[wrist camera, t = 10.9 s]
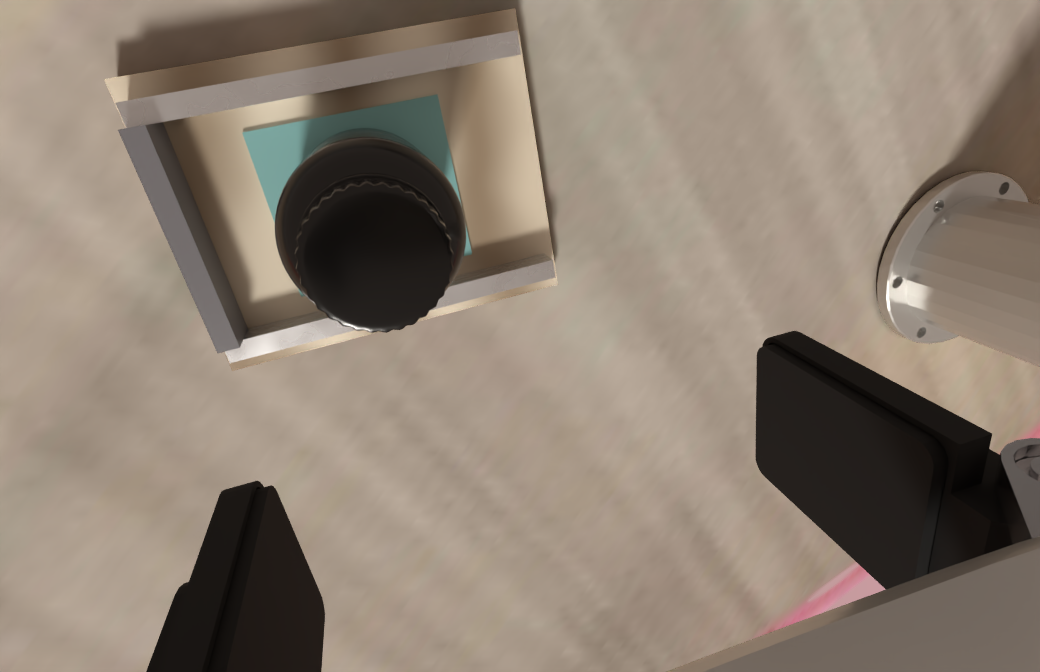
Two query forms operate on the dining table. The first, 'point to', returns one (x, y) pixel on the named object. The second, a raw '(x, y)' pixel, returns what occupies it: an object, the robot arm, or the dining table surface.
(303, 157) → the board
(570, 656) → the dining table surface
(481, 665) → the dining table surface
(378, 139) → the supplement bottle
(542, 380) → the dining table surface
